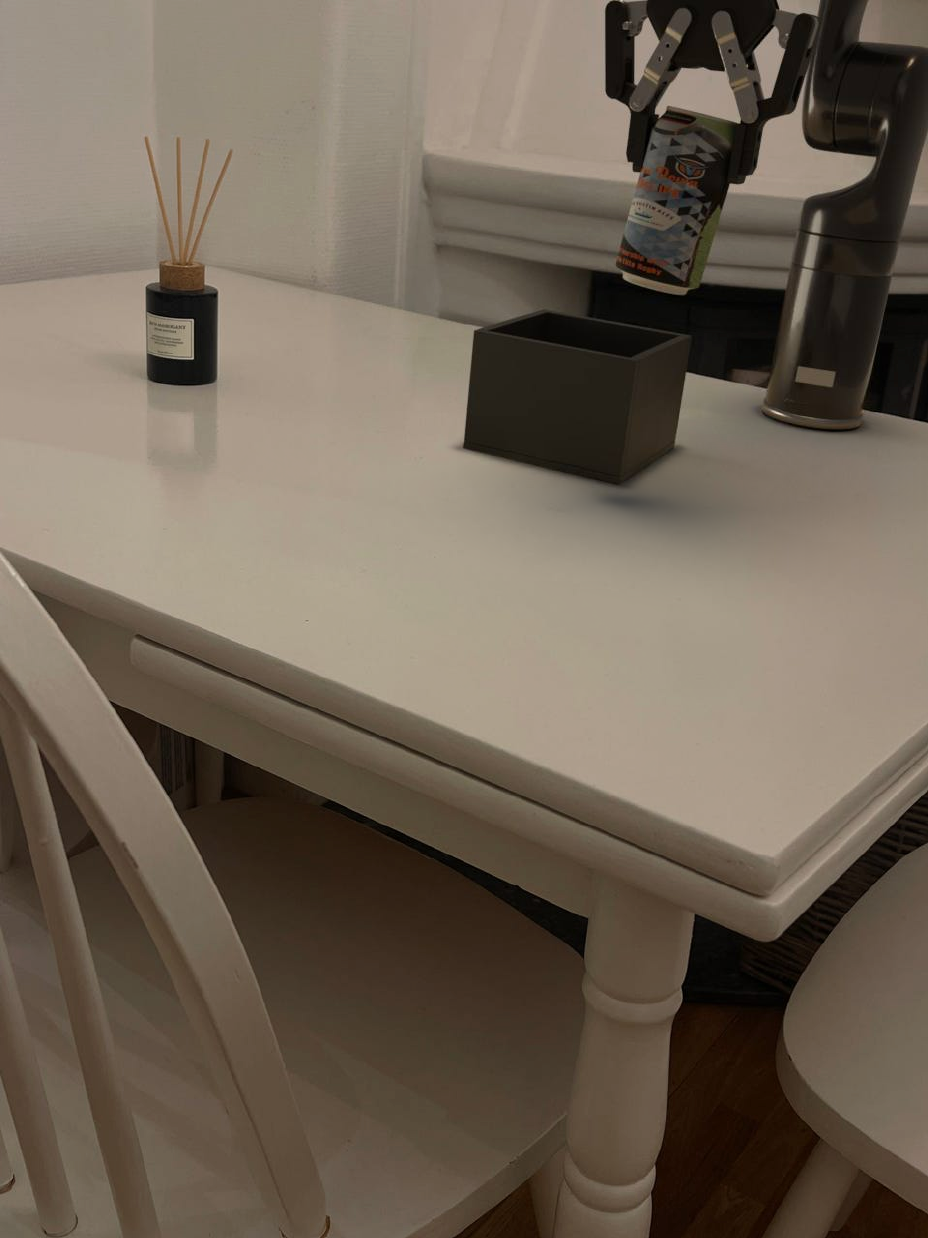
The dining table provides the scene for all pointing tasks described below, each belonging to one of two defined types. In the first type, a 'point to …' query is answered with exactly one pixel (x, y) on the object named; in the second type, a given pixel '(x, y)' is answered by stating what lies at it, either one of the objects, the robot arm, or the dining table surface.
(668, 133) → the beverage can
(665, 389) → the waste bin
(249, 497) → the dining table surface
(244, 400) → the dining table surface
